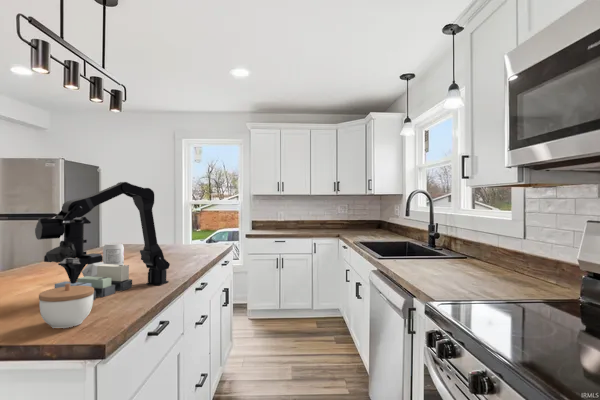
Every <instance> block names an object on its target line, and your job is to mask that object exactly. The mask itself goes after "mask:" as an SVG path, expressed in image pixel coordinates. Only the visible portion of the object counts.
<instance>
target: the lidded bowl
mask: <svg viewBox="0 0 600 400" xmlns="http://www.w3.org/2000/svg"><path fill="white" fill-rule="evenodd" d="M93 297H94V288H93V287H90V286H70V284H65V287H59V288H55V287H54V288H51V289H47V290H44V291H42V292H40V293H39V294H38V300H39V302H38V303H39V304H38V305H39V311H40V316H41V318H42V320H43V321H44V323H46V324H47V325H49V326H50V328H51V327H52V329H54V328H63V329H70V328H74V327H78V326H79V325H81V324H82V323H83V321H84V320H86V318H87V317H88V316H89V314H90V313H91V310H92V308H93V305H94V300H93ZM73 326H74V327H73ZM69 327H70V328H69Z"/></svg>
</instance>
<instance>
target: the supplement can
mask: <svg viewBox="0 0 600 400" xmlns="http://www.w3.org/2000/svg"><path fill="white" fill-rule="evenodd" d="M124 247H125V246H124V245H123V243H122V242H112V243H111V242H110V243H109V242H108V243H104V246H103V247H102V256H103V263H104V264H115V265H125V264H124V263H125V262H124V261H125V260H124V259H125V257H124V256H125V248H124Z"/></svg>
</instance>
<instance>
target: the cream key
mask: <svg viewBox="0 0 600 400" xmlns="http://www.w3.org/2000/svg"><path fill="white" fill-rule="evenodd" d="M129 273H130V265H129V264H128V265H127V264H124V265H115V264H103V265H98V266H97V277H107V278H111V281H125V280H128V279H130V274H129Z"/></svg>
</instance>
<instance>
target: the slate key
mask: <svg viewBox="0 0 600 400" xmlns="http://www.w3.org/2000/svg"><path fill="white" fill-rule="evenodd" d="M65 284H70V286H90V287H91V284H92V283H81V282H77V281H76V283H71V282H70V281H61V282H57V283H54V288H59V287H65Z"/></svg>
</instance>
